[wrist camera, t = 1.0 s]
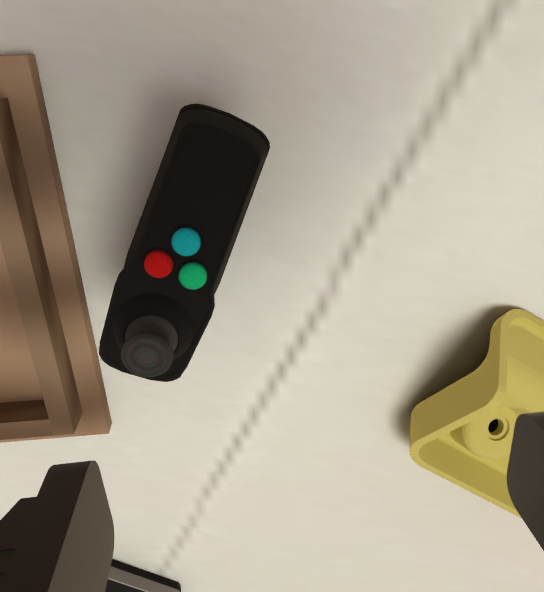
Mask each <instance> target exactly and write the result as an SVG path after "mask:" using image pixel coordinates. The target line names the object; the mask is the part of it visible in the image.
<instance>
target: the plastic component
mask: <svg viewBox="0 0 544 592" xmlns="http://www.w3.org/2000/svg"><path fill="white" fill-rule="evenodd" d="M543 411H544V321H542V320H541V319H539V318H538V317H536V316H534V315H533V314H531V313H530V312H528V311H525V310H522V309H512V310H510V311H508V312H507V313H505V314H503V315H502V316H500V317H499V318H498V319H497V320H496V321H495V322H494V324H493V326H492V328H491V332H490V345H489V350H488V353H487V356H486V358H485V359H484V361H483V362H482V364H481V365H480V366H479V367H478V368H477V369H476V370H475V371H473V372H472V373H470V374H468V375H467V376H465V377H463V378H461V379H460V380H458V381H456V382H455V383H453V384H451V385H449V386H448V387H446V388H444V389H443V390H441V391H439V392H437V393H436V394H434V395H432V396H430V397H429V398H427V399H425V400H424V401H422V402H420V403H419V404H417V405H416V406H415V408H414V409H413V411H412V413H411V418H410V456H411V458H412V459H413V461H414V462H415V463H417V464H418V465H419V466H421V467H423V468H425V469H427V470H429V471H431V472H433V473H435V474H437V475H439V476H441V477H442V478H444V479H446V480H448V481H450V482H452V483H454V484H456V485H458V486H460V487H462V488H464V489H466V490H468V491H470V492H472V493H474V494H476V495H477V496H479V497H481V498H483V499H485V500H487V501H489V502H491V503H493V504H495V505H497V506H499V507H501V508H503V509H505V510H507V511H509V512H511V513H513V514H514V515H516V516H518V517H520V518H522V517H521V516H520V515H519V513H518V512H517V510H516V508H515V507H514V505H513V503H512V500H511V498H510V495H509V492H508V487H507V469H508V463H509V457H510V451H511V445H512V439H513V433H514V427H515V422H516V419H517V417H518V416H519V415H520V414H525V413H534V412H543ZM494 419H498V427H497V429H496V430H495V431H494V432H491V433H490V432H489V430H488V427H489V424H490V422H491V421H493V420H494Z"/></svg>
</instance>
